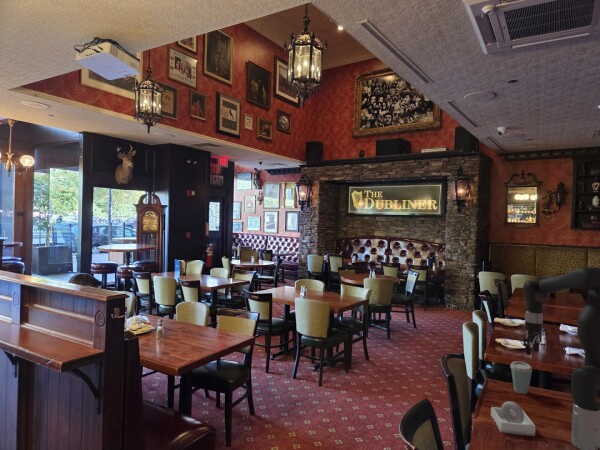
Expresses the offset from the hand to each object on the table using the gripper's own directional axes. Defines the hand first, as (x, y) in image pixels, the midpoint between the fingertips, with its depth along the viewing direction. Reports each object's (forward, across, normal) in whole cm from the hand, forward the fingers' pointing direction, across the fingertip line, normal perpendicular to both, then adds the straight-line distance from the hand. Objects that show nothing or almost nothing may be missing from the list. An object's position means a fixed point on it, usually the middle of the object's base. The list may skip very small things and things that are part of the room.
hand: (532, 353), depth 194 cm
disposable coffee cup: (+28, +16, +12) cm, 35 cm away
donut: (+27, -24, -3) cm, 37 cm away
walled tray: (+28, -24, -3) cm, 37 cm away
